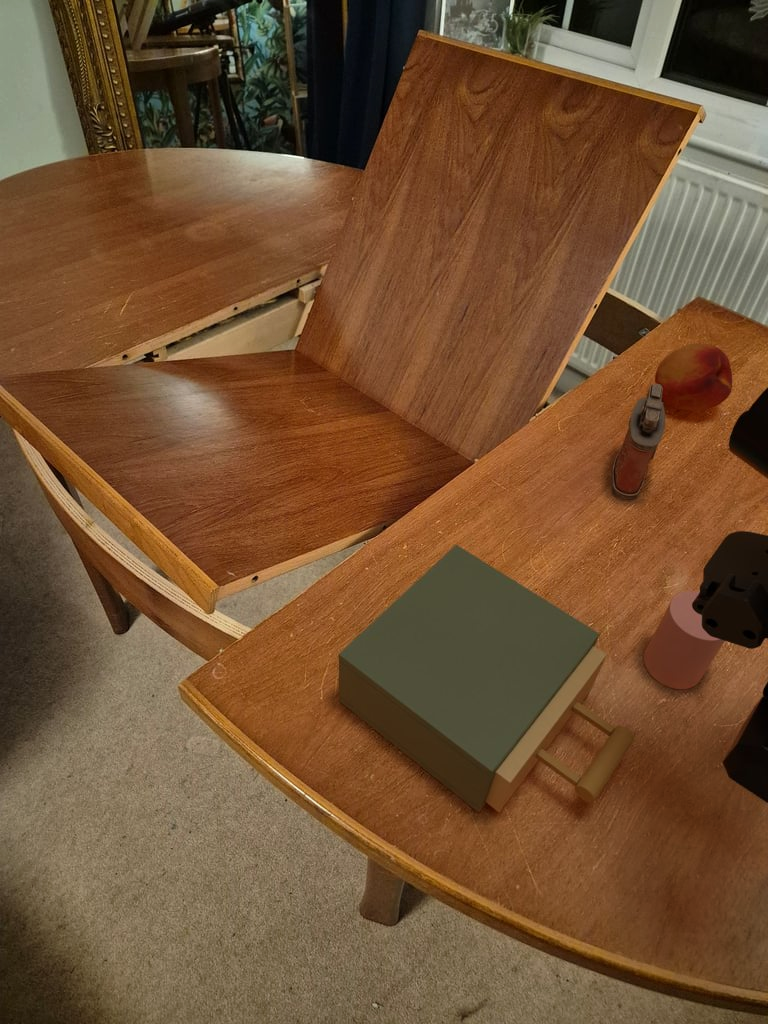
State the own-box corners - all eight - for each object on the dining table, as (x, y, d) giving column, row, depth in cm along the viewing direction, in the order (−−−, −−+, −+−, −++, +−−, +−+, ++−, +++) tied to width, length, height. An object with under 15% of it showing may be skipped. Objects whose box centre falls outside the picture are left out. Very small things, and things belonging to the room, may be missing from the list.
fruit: (675, 432, 85) (700, 374, 79) (634, 392, 90) (654, 334, 84) (730, 418, 87) (757, 361, 81) (686, 380, 92) (709, 323, 87)
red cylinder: (710, 662, 63) (743, 612, 58) (687, 700, 60) (718, 651, 55) (658, 631, 65) (685, 580, 60) (633, 666, 62) (659, 616, 57)
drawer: (646, 723, 58) (665, 690, 54) (557, 859, 50) (573, 831, 47) (465, 604, 65) (473, 569, 62) (365, 707, 57) (367, 673, 54)
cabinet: (580, 680, 61) (600, 633, 56) (478, 813, 53) (492, 771, 48) (447, 593, 67) (456, 544, 62) (338, 700, 59) (338, 653, 54)
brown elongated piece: (639, 504, 76) (671, 428, 69) (606, 496, 77) (634, 420, 70) (646, 456, 82) (676, 381, 74) (615, 449, 82) (641, 373, 75)
